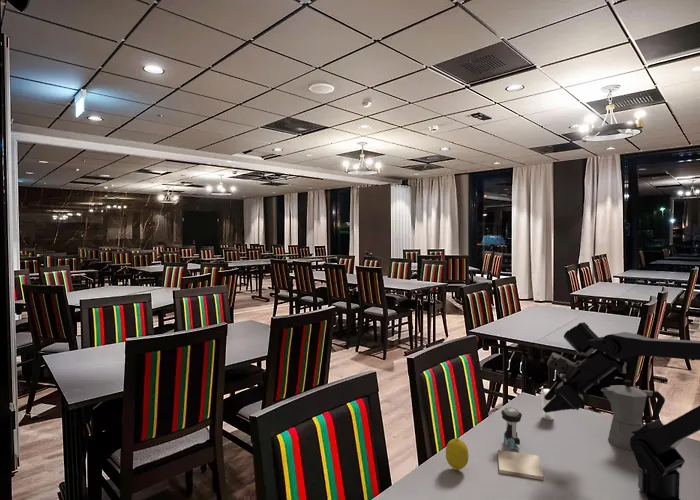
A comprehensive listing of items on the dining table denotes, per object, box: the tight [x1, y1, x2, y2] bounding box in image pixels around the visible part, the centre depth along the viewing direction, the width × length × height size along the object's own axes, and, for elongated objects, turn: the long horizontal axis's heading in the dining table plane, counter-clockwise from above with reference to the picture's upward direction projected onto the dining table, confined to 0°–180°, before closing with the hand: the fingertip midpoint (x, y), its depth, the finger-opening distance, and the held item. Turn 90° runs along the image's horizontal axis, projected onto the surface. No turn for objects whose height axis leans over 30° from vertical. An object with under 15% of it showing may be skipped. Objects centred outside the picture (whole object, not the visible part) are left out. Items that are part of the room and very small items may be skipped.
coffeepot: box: [600, 379, 666, 452], centre depth 115 cm, size 15×9×18 cm, turn 72°
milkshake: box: [540, 388, 555, 421], centre depth 131 cm, size 4×5×10 cm
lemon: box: [445, 437, 469, 471], centre depth 101 cm, size 6×6×8 cm
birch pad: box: [497, 449, 545, 481], centre depth 103 cm, size 10×10×1 cm
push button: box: [500, 406, 522, 452], centre depth 113 cm, size 7×5×10 cm
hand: (544, 404), depth 109 cm, fingers open, 9 cm apart
